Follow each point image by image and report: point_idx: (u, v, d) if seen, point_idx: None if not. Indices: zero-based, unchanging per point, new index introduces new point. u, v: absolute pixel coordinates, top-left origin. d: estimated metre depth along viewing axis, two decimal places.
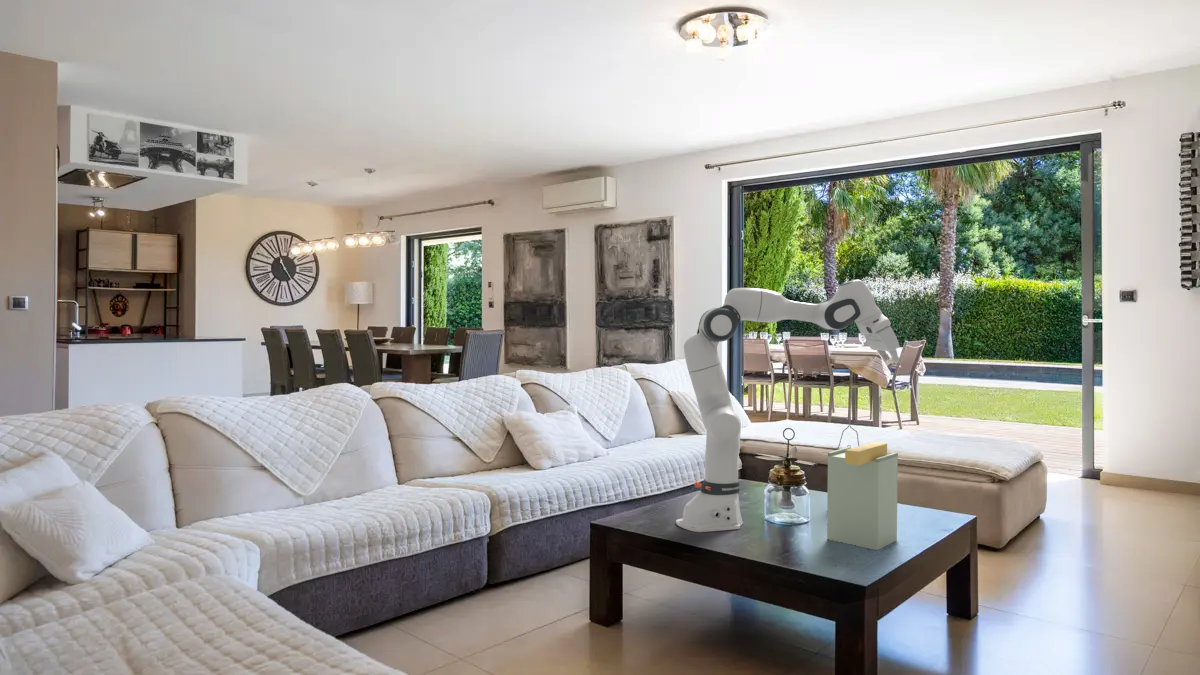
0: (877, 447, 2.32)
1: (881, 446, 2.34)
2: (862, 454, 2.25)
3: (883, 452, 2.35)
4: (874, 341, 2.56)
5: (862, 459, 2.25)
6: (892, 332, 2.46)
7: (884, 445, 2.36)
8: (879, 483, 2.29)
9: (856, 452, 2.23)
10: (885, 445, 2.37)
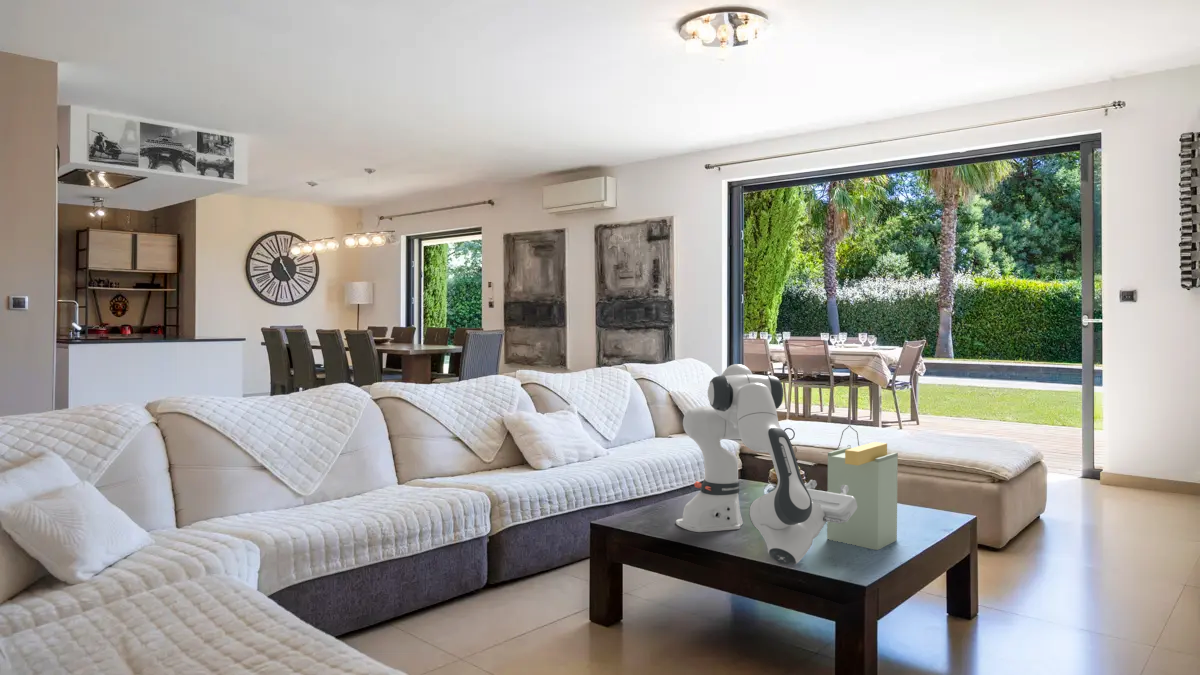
0: (877, 447, 2.32)
1: (881, 446, 2.34)
2: (862, 454, 2.25)
3: (883, 452, 2.35)
4: (818, 498, 2.08)
5: (862, 459, 2.25)
6: None
7: (884, 445, 2.36)
8: (879, 483, 2.29)
9: (856, 452, 2.23)
10: (885, 445, 2.37)
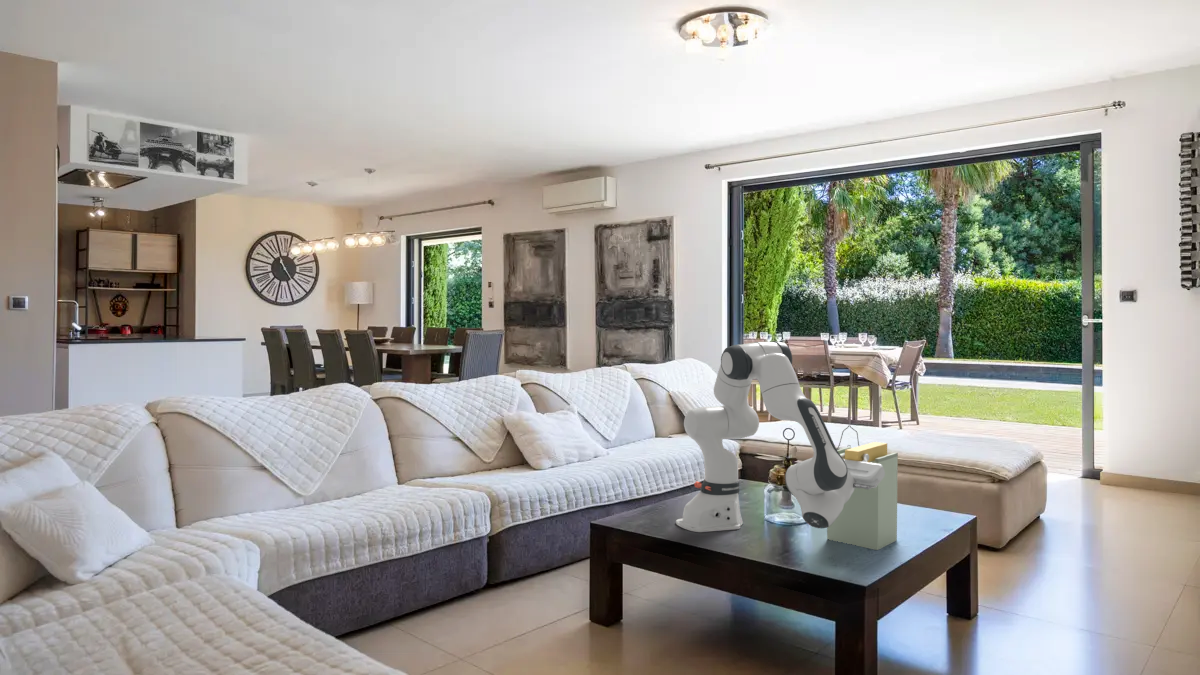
0: (877, 447, 2.32)
1: (881, 446, 2.34)
2: (862, 454, 2.25)
3: (883, 452, 2.35)
4: (848, 467, 2.21)
5: None
6: None
7: (884, 445, 2.36)
8: (879, 483, 2.29)
9: (856, 452, 2.23)
10: (885, 445, 2.37)
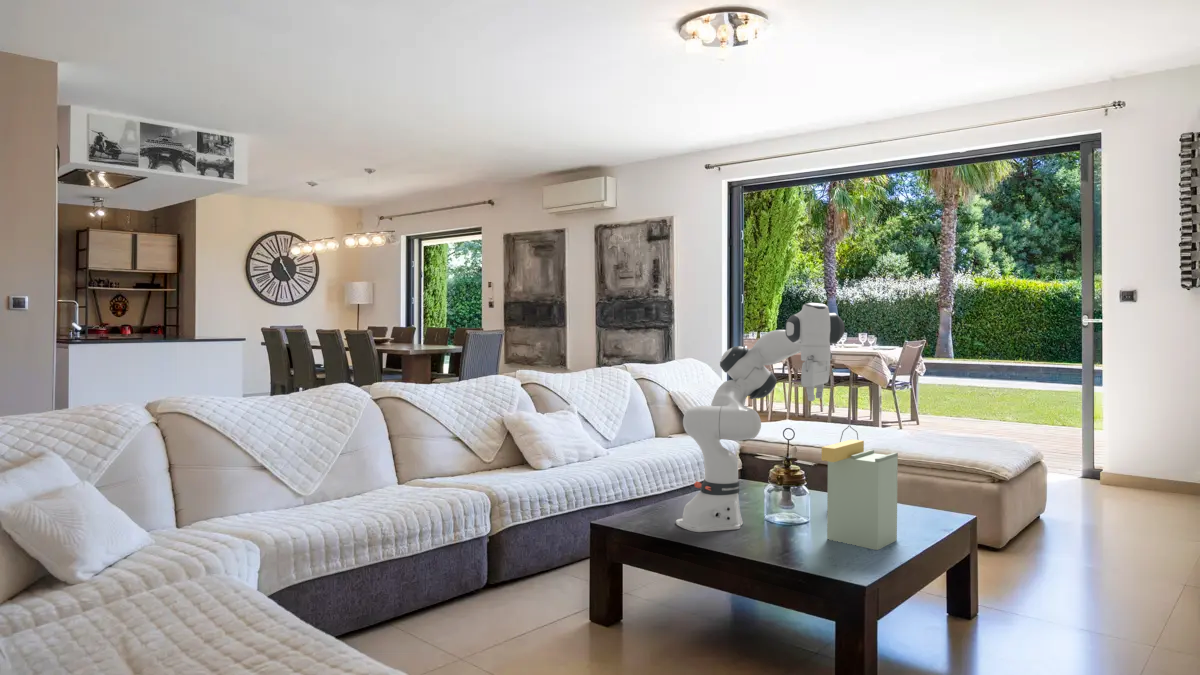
0: (853, 444, 2.37)
1: (857, 443, 2.39)
2: (838, 451, 2.30)
3: (859, 449, 2.40)
4: (820, 373, 2.39)
5: (838, 456, 2.30)
6: None
7: (861, 442, 2.41)
8: (879, 483, 2.29)
9: (832, 449, 2.28)
10: (862, 442, 2.42)
